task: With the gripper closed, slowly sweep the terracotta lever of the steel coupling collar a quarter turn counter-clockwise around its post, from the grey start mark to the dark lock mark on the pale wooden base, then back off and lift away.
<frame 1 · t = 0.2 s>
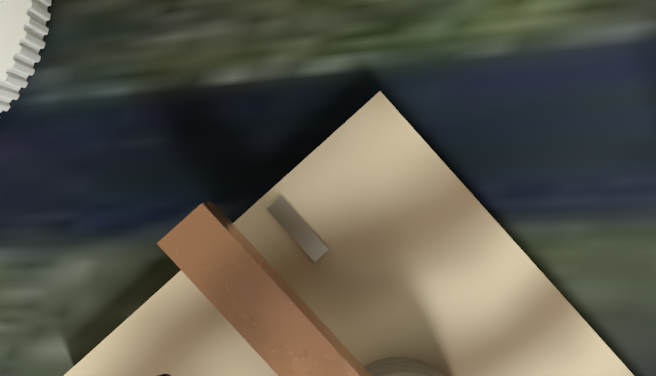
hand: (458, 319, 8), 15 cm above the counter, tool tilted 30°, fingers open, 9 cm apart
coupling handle: (328, 367, 20), point 4 cm above the counter, hinge at 0.0°
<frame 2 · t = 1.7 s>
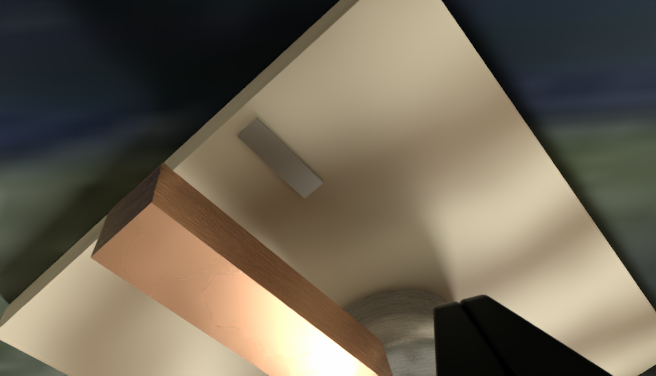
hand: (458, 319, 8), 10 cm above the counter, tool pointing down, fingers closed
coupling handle: (325, 330, 17), point 4 cm above the counter, hinge at 0.0°
coupling base: (379, 316, 22), on the counter
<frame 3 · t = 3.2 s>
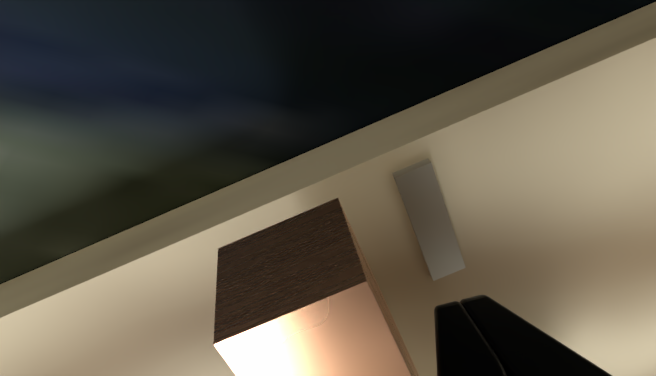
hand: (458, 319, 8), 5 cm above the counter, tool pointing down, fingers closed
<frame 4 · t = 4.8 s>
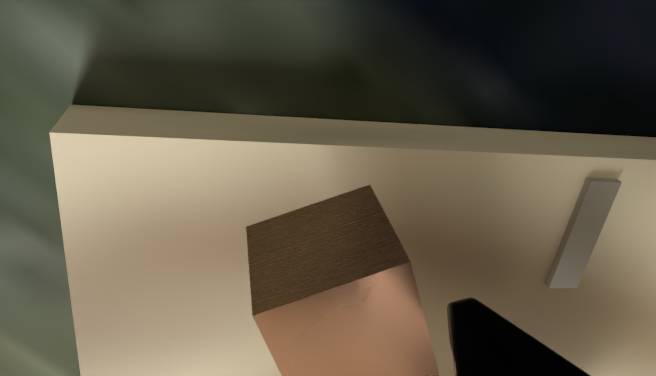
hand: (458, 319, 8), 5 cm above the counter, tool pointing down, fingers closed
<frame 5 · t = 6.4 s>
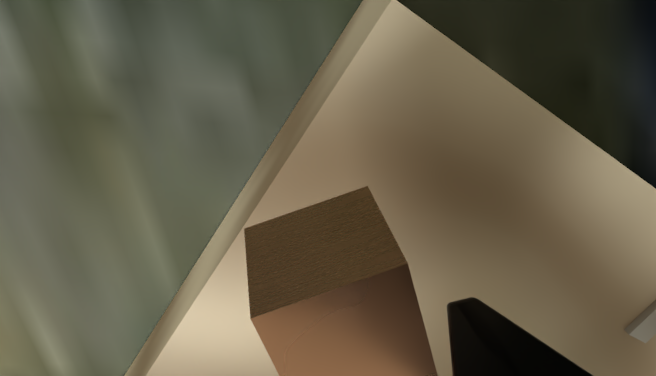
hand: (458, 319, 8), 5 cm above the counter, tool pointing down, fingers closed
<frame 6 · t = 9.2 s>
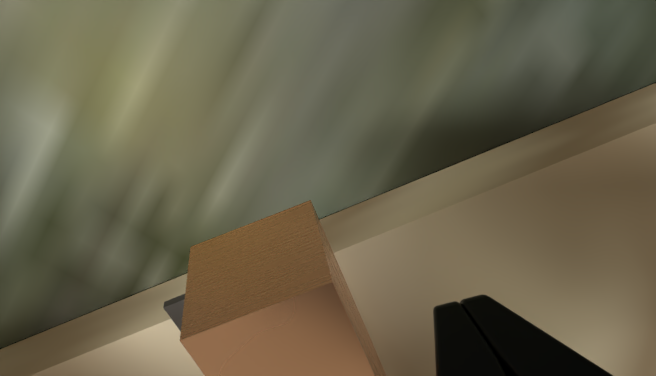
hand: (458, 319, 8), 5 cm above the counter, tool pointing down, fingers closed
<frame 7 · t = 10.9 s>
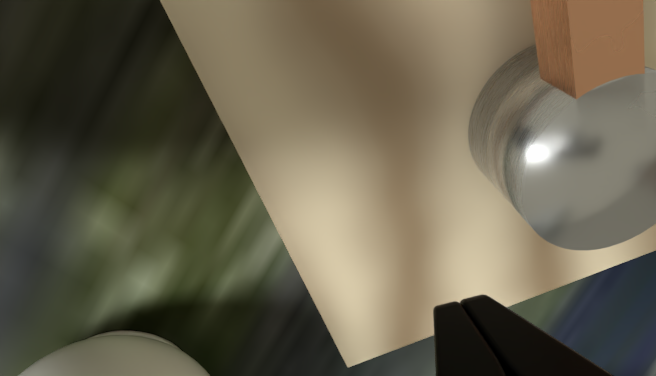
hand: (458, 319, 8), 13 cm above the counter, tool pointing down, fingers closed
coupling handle: (563, 14, 15), point 4 cm above the counter, hinge at 89.0°
coupling base: (522, 103, 21), on the counter
lidded jar: (128, 374, 25), on the counter
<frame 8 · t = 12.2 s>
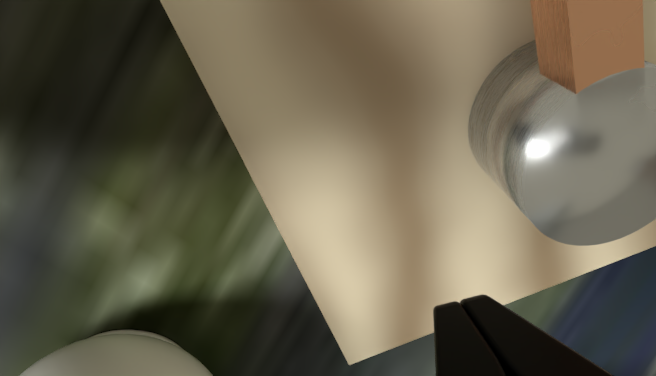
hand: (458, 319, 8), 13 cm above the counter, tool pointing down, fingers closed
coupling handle: (563, 8, 15), point 4 cm above the counter, hinge at 89.0°
coupling base: (521, 99, 21), on the counter
lidded jar: (130, 373, 25), on the counter
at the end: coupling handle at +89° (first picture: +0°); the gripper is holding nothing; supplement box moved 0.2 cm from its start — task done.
